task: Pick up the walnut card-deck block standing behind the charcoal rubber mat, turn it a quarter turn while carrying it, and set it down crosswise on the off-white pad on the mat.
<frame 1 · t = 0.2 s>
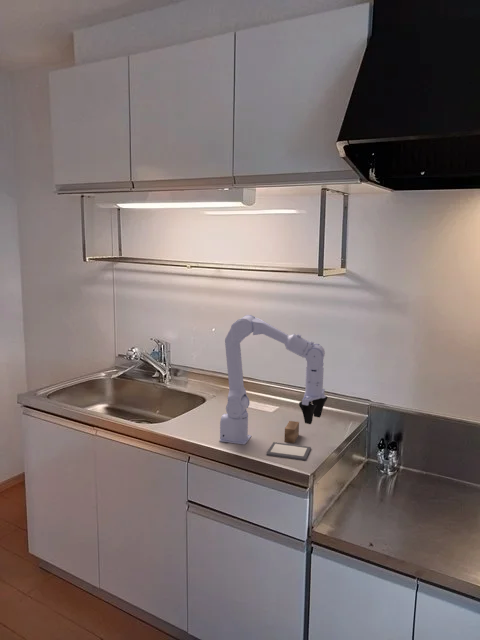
hand: (312, 420, 174), 10 cm above the worktop, tool pointing down, fingers open, 7 cm apart
mat: (288, 451, 171), on the worktop
deck block: (291, 438, 183), on the worktop
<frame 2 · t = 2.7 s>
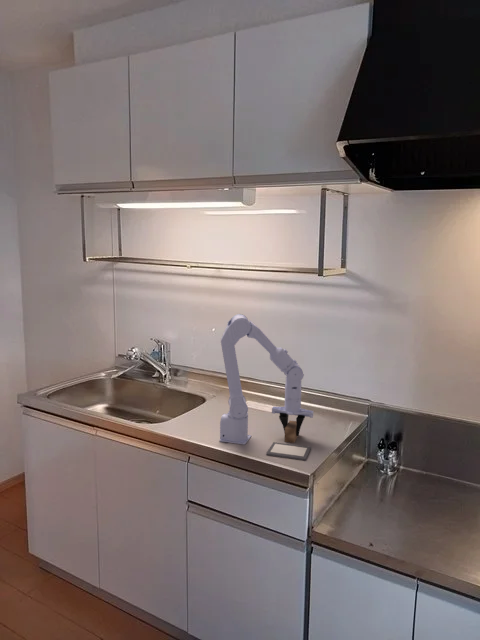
hand: (291, 434, 183), 1 cm above the worktop, tool pointing down, fingers closed on deck block, 3 cm apart
deck block: (291, 438, 183), on the worktop, touching gripper
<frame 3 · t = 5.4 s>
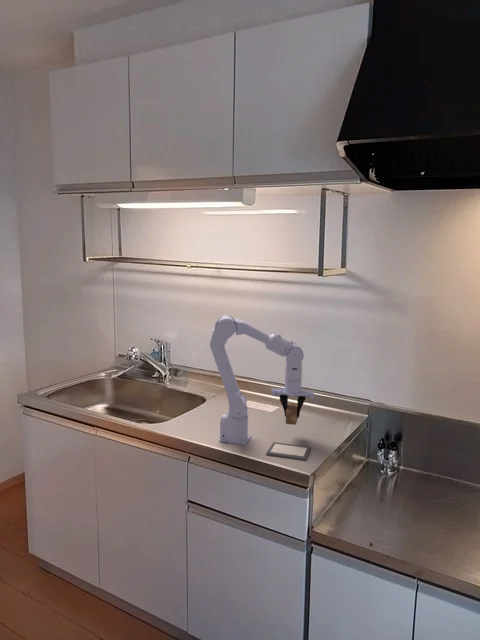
hand: (292, 416, 181), 8 cm above the worktop, tool pointing down, fingers closed on deck block, 3 cm apart
deck block: (292, 420, 181), point 7 cm above the worktop, touching gripper
when the fingers open (3 cm above the worktop, at t = 8.3 s): deck block drops 1 cm, resting on mat.
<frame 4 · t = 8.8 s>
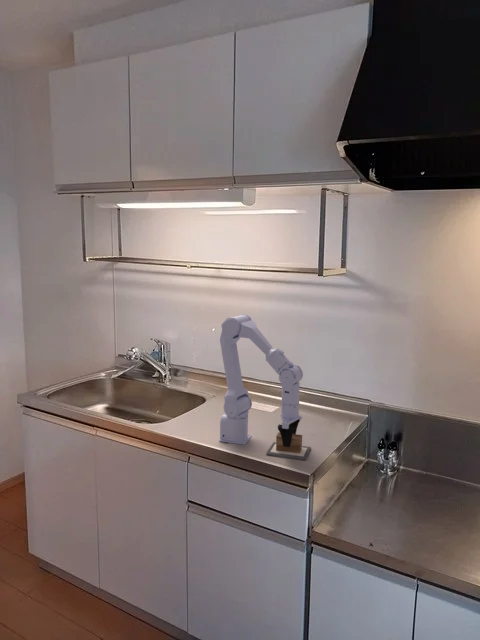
hand: (289, 442, 171), 3 cm above the worktop, tool pointing down, fingers open, 7 cm apart
deck block: (288, 449, 171), point 1 cm above the worktop, touching mat
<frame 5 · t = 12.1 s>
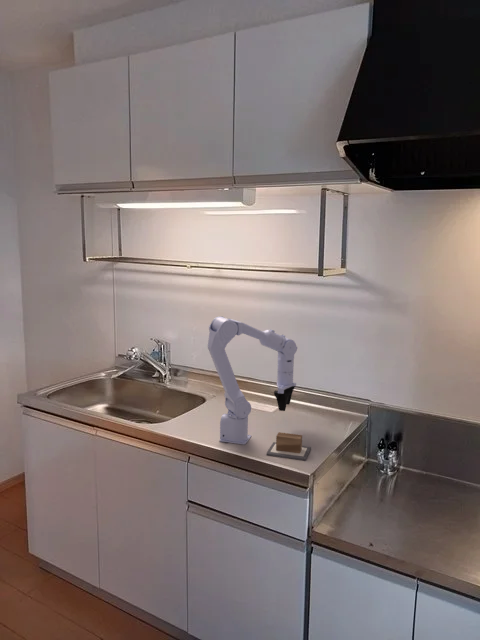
hand: (284, 407, 187), 9 cm above the worktop, tool pointing down, fingers open, 7 cm apart
nothing on the worktop moved.
at the end: deck block 0.0 cm from the target spot, point 0.7 cm above the worktop; deck block touching mat; deck block tilted 0° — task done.
